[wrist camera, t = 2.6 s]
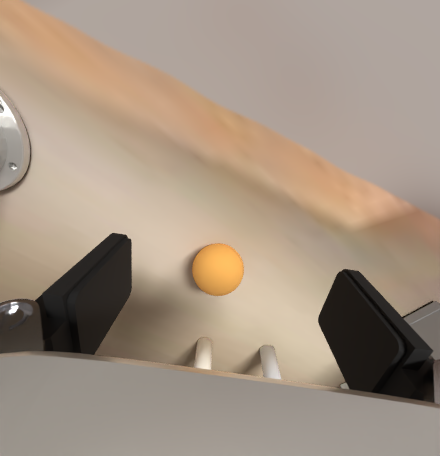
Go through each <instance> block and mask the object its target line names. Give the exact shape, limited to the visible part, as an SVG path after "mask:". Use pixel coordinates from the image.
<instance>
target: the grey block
mask: <svg viewBox="0 0 440 456" xmlns="http://www.w3.org/2000/svg"><path fill="white" fill-rule="evenodd" d="M403 319H404V320H405V321H406V322H407V323H408V324H409V325H410V326H411V327H412V328H413V329H414V330H415V332H416V333H417V334H418V335H419V336H420V337H421V338H422V339H423V340H424V341H425V342H426V343H427V344H428V345H429V347H430V348H431V349H432V350H433V352H432V354H431V355H430V356H429V359H430V361H431V362H432V363H433V362H434V361H435V360H438V359H440V304H439V303H438V302H437V301H435V302H433V303H431V304H429V305H427V306H425V307H423V308H421V309H420V310H418V311H416V312H414V313H412V314H410V315H408V316H407V317H405V318H403Z"/></svg>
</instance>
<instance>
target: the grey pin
mask: <svg viewBox="0 0 440 456" xmlns="http://www.w3.org/2000/svg"><path fill="white" fill-rule="evenodd" d="M260 357H261V363H262V370H263V376H264V377H266V378H273V379H280V380H281V375H280V371H279V366H278V362H277V358H276V353H275V349H274V347H273V346H271V345H264V346H262V347H261V348H260Z"/></svg>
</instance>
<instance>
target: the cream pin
mask: <svg viewBox="0 0 440 456" xmlns="http://www.w3.org/2000/svg"><path fill="white" fill-rule="evenodd" d="M211 360H212V340H211V339H209V338H206V337H203V338H200V339H199V340H198V341H197V348H196V356H195V364H194V368H201V369H209V370H211Z"/></svg>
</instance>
